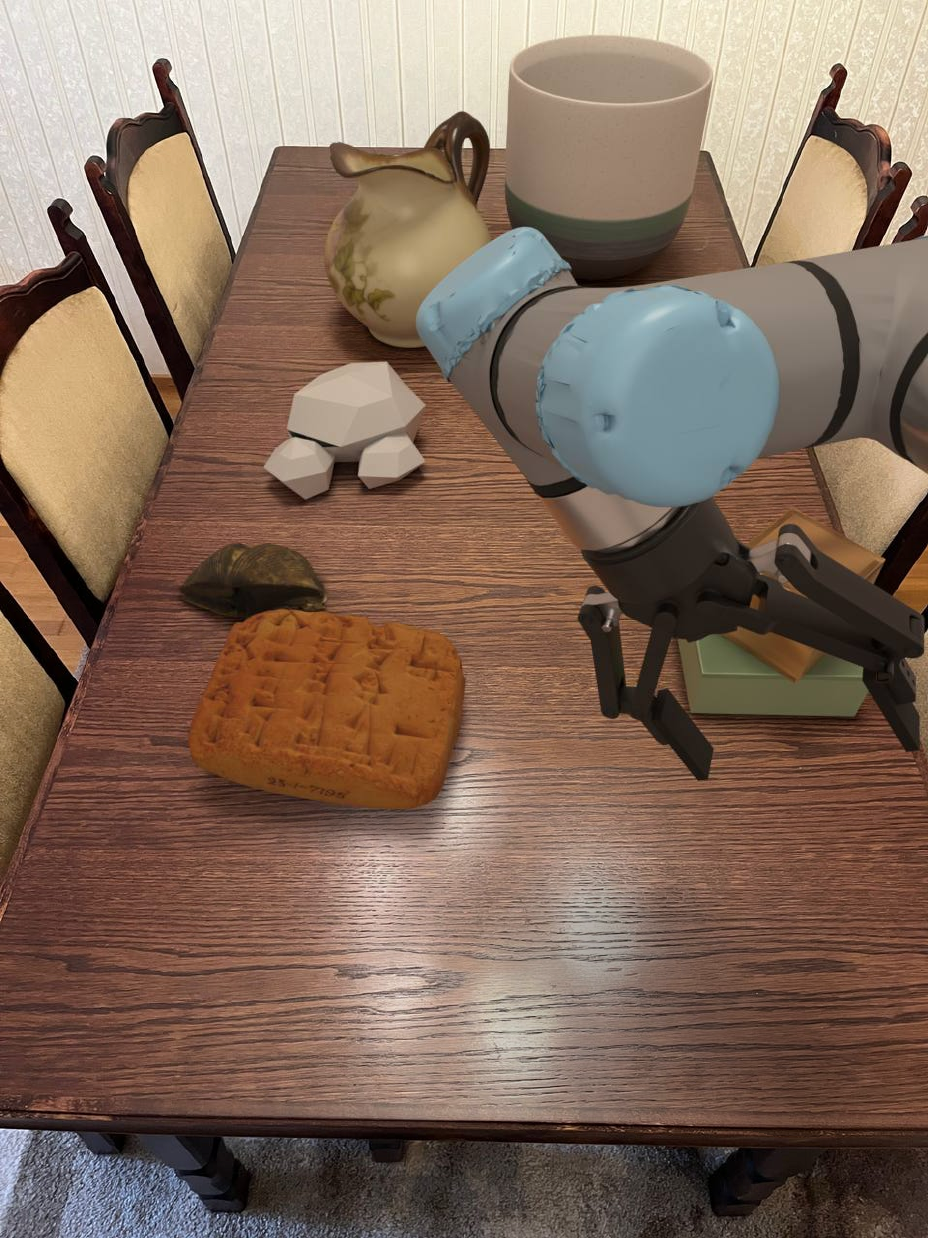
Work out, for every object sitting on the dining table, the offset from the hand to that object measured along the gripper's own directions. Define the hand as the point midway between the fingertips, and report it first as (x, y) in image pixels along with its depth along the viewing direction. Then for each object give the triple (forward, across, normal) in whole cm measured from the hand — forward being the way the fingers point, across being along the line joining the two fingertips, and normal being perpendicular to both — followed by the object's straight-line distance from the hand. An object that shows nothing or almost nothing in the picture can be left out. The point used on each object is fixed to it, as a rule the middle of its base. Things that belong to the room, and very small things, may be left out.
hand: (802, 750), depth 58 cm
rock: (-18, +51, -40) cm, 68 cm away
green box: (+13, +12, -25) cm, 31 cm away
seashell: (-17, +50, -16) cm, 56 cm away
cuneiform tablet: (-8, +40, -3) cm, 40 cm away
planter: (-9, +38, -95) cm, 103 cm away
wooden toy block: (+9, +8, -23) cm, 26 cm away
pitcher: (-21, +53, -70) cm, 91 cm away
